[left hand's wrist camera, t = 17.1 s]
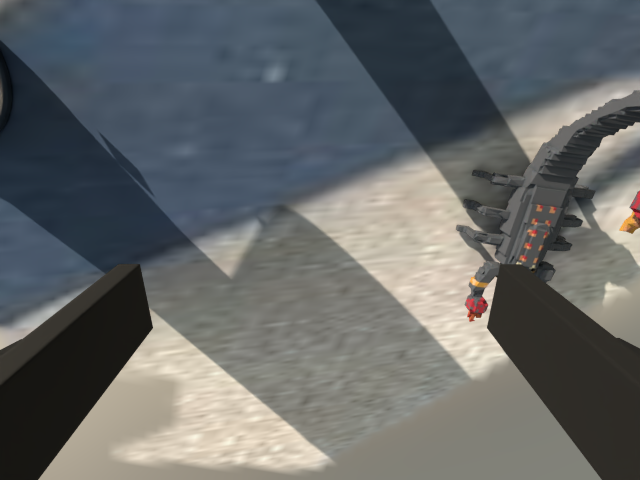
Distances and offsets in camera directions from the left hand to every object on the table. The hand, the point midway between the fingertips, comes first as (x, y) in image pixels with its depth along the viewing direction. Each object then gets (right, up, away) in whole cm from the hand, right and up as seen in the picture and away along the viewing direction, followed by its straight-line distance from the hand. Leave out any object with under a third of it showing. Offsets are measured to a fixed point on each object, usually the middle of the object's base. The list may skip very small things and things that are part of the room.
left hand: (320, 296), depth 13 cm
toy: (+23, +5, +29) cm, 37 cm away
